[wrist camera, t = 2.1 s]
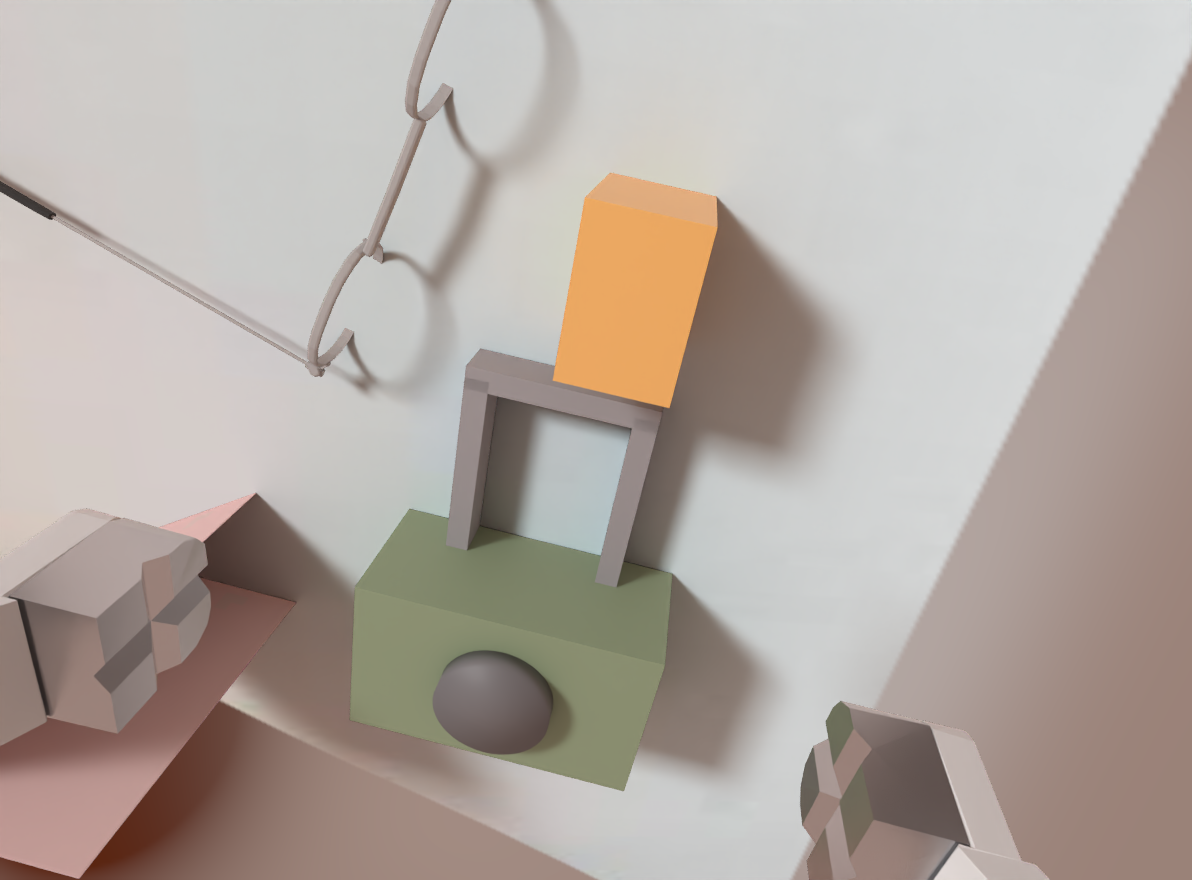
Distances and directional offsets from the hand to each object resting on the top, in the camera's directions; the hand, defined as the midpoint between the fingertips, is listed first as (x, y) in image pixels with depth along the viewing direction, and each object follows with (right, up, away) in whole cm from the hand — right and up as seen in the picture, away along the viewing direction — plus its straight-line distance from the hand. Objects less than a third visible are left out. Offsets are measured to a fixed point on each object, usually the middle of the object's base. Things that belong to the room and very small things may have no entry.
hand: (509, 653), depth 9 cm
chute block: (+3, +9, +19) cm, 21 cm away
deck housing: (-2, -2, +25) cm, 25 cm away
